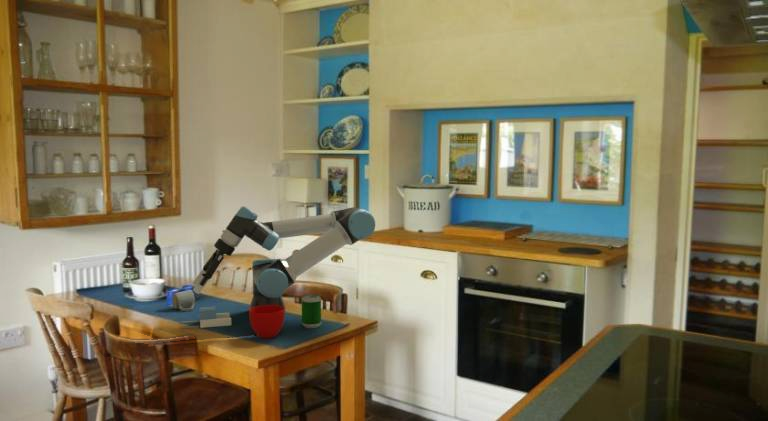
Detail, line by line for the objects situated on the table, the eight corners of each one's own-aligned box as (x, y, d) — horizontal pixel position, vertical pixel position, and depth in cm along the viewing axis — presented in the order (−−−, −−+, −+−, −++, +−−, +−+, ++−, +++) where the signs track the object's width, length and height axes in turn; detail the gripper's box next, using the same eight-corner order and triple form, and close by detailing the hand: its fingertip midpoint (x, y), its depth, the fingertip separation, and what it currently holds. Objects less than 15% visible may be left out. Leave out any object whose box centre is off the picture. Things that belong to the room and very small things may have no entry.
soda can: (324, 327, 245) (324, 296, 244) (306, 329, 242) (306, 298, 241) (316, 322, 252) (316, 292, 251) (299, 325, 248) (298, 295, 247)
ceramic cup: (265, 326, 246) (264, 301, 245) (292, 335, 234) (291, 308, 233) (236, 333, 237) (235, 307, 236) (263, 343, 225) (262, 315, 224)
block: (215, 321, 250) (215, 306, 250) (216, 324, 245) (216, 309, 244) (199, 322, 248) (199, 307, 248) (200, 326, 243) (199, 310, 243)
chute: (229, 321, 254) (229, 312, 253) (231, 327, 245) (231, 318, 244) (181, 325, 248) (181, 316, 248) (181, 331, 239) (180, 322, 239)
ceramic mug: (171, 308, 276) (170, 290, 275) (189, 305, 281) (189, 288, 280) (179, 313, 268) (179, 295, 267) (198, 310, 272) (198, 292, 272)
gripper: (218, 233, 257) (187, 277, 255) (220, 241, 233) (187, 289, 231) (233, 243, 259) (203, 287, 257) (238, 252, 235) (204, 300, 233)
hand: (195, 288), depth 244 cm, fingers open, 13 cm apart
